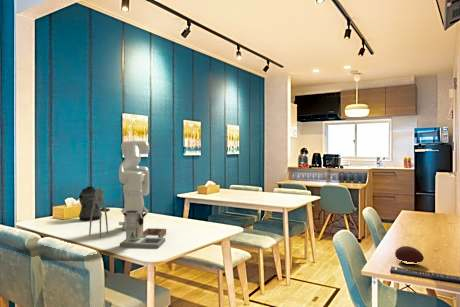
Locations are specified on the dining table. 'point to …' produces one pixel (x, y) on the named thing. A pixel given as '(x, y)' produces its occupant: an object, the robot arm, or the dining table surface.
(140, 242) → the board
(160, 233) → the stall
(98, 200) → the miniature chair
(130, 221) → the coffee box
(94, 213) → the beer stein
